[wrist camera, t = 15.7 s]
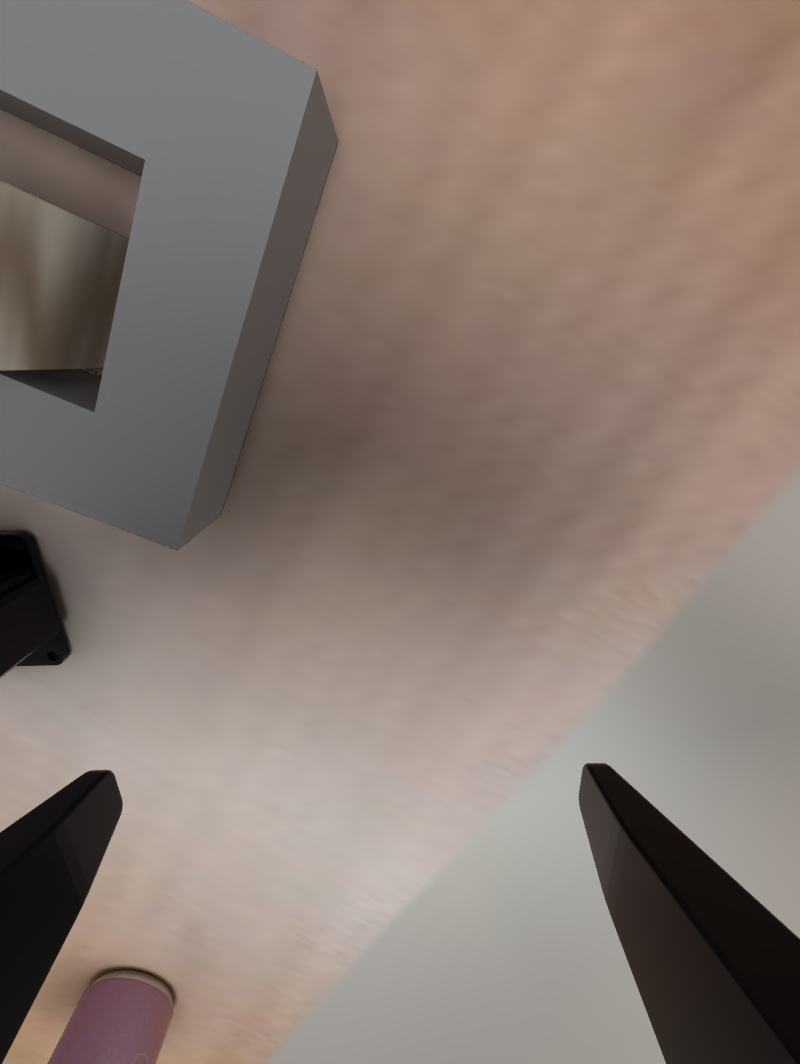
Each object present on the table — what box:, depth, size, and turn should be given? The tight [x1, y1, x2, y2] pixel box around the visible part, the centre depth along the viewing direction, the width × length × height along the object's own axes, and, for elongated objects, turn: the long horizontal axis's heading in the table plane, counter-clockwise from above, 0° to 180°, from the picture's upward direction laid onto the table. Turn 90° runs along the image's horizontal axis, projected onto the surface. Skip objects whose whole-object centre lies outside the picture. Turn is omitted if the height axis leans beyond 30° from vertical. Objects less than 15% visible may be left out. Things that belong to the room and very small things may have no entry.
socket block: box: [0, 0, 338, 551], centre depth 15 cm, size 14×14×4 cm
